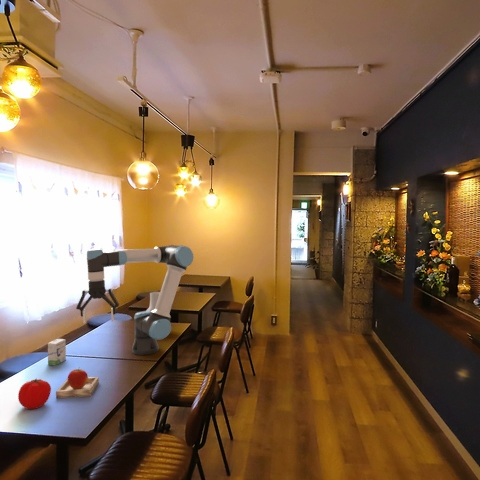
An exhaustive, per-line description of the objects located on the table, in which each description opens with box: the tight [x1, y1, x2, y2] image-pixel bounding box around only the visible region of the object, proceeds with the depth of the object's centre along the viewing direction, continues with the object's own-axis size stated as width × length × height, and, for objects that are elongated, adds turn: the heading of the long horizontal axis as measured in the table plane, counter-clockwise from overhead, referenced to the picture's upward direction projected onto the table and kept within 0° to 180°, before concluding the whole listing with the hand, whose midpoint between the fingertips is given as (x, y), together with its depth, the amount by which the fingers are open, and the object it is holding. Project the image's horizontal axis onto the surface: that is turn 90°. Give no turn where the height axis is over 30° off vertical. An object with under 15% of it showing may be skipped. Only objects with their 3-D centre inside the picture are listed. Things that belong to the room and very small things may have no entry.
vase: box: [145, 291, 160, 311], centre depth 257 cm, size 17×16×28 cm
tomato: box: [18, 378, 52, 410], centre depth 157 cm, size 12×12×11 cm
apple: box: [67, 368, 89, 389], centre depth 171 cm, size 8×8×10 cm
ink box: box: [47, 338, 67, 366], centre depth 206 cm, size 9×5×12 cm, turn 168°
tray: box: [55, 376, 100, 399], centre depth 171 cm, size 14×14×3 cm
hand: (99, 321), depth 192 cm, fingers open, 13 cm apart
